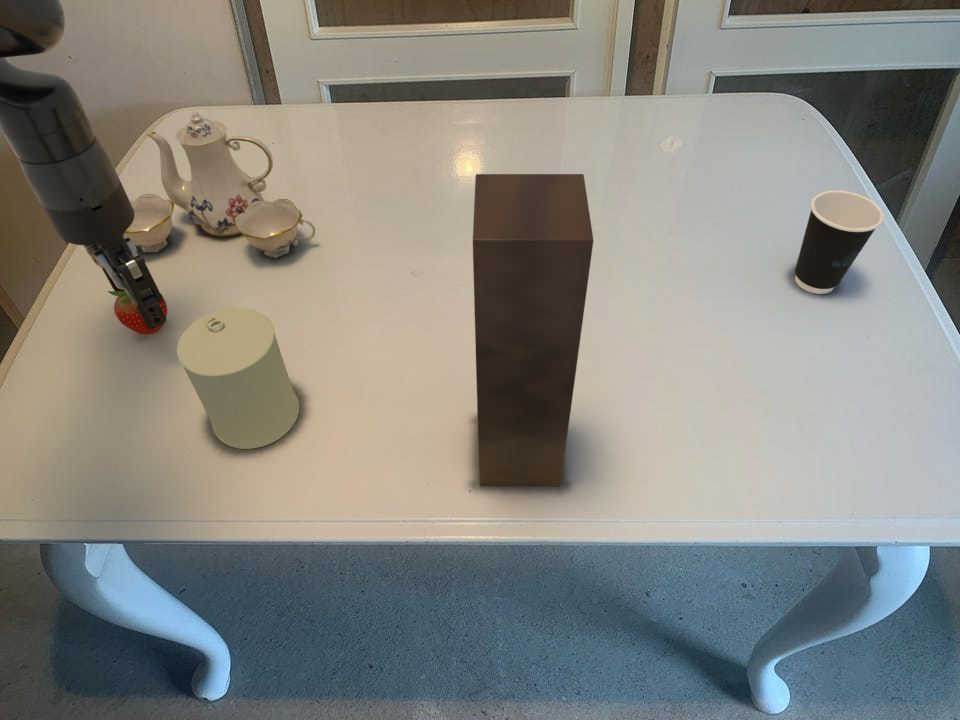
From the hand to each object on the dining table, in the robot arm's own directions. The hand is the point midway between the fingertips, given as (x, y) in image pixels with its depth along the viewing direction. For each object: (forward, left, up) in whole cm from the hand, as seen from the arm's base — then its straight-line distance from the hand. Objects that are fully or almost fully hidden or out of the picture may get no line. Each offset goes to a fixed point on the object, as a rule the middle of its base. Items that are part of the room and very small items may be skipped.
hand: (140, 306), depth 79 cm
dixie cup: (+65, -51, -4) cm, 83 cm away
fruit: (0, 0, -4) cm, 4 cm away
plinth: (+19, -43, -4) cm, 47 cm away
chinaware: (+16, +12, -4) cm, 21 cm away
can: (+2, -20, -4) cm, 20 cm away
